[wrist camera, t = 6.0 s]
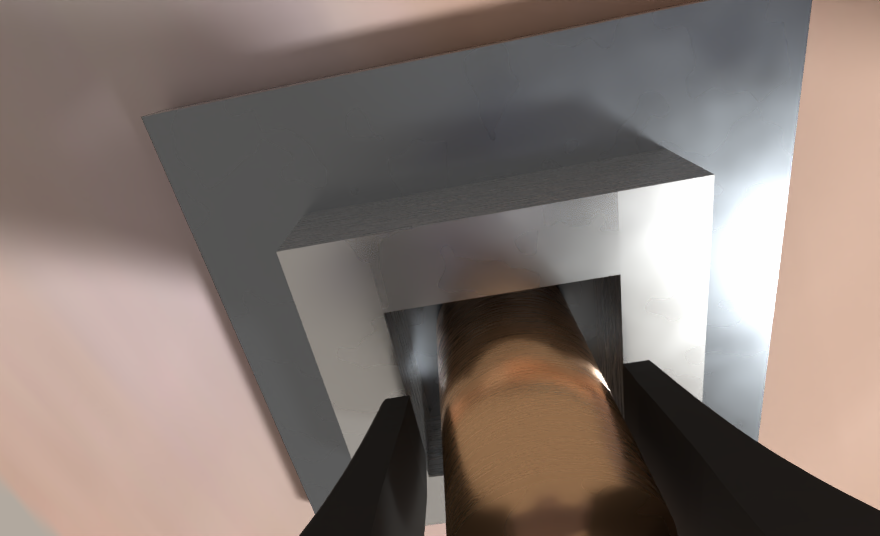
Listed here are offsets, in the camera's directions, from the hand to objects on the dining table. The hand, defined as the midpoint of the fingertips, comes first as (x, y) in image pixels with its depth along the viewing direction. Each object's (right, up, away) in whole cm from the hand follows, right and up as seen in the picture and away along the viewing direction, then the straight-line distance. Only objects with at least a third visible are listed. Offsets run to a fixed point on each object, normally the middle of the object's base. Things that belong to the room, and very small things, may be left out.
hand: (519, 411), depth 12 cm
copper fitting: (0, +2, +3) cm, 3 cm away
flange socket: (0, +2, +4) cm, 4 cm away
